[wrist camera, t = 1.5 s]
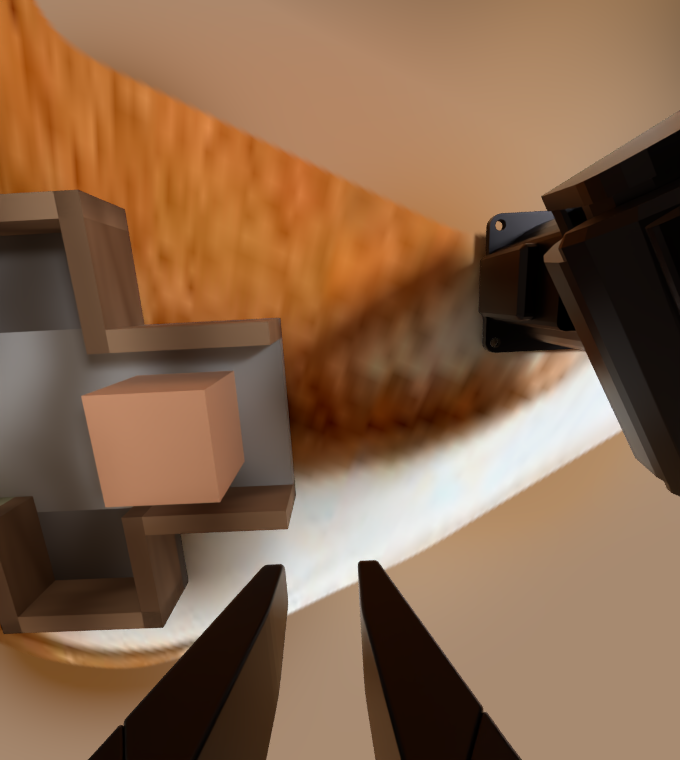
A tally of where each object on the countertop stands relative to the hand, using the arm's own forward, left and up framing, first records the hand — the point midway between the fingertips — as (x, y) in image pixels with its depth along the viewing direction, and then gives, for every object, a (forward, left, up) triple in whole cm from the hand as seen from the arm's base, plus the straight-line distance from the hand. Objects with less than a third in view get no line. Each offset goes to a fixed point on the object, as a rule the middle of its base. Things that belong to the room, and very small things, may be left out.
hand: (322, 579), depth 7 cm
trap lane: (+13, 0, -12) cm, 18 cm away
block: (+7, 0, -11) cm, 14 cm away
